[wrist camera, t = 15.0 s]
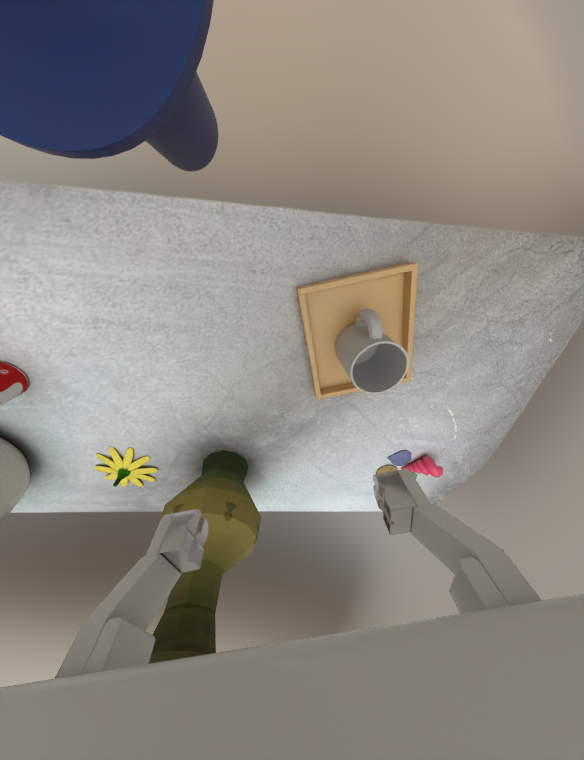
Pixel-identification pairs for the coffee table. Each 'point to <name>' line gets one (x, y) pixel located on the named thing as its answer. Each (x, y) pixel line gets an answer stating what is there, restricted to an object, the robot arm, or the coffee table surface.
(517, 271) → the coffee table surface
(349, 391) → the tray
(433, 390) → the coffee table surface
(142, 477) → the flower
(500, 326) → the coffee table surface
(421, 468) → the toy pieces
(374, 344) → the cup
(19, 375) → the beverage can
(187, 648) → the vase
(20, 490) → the planter
